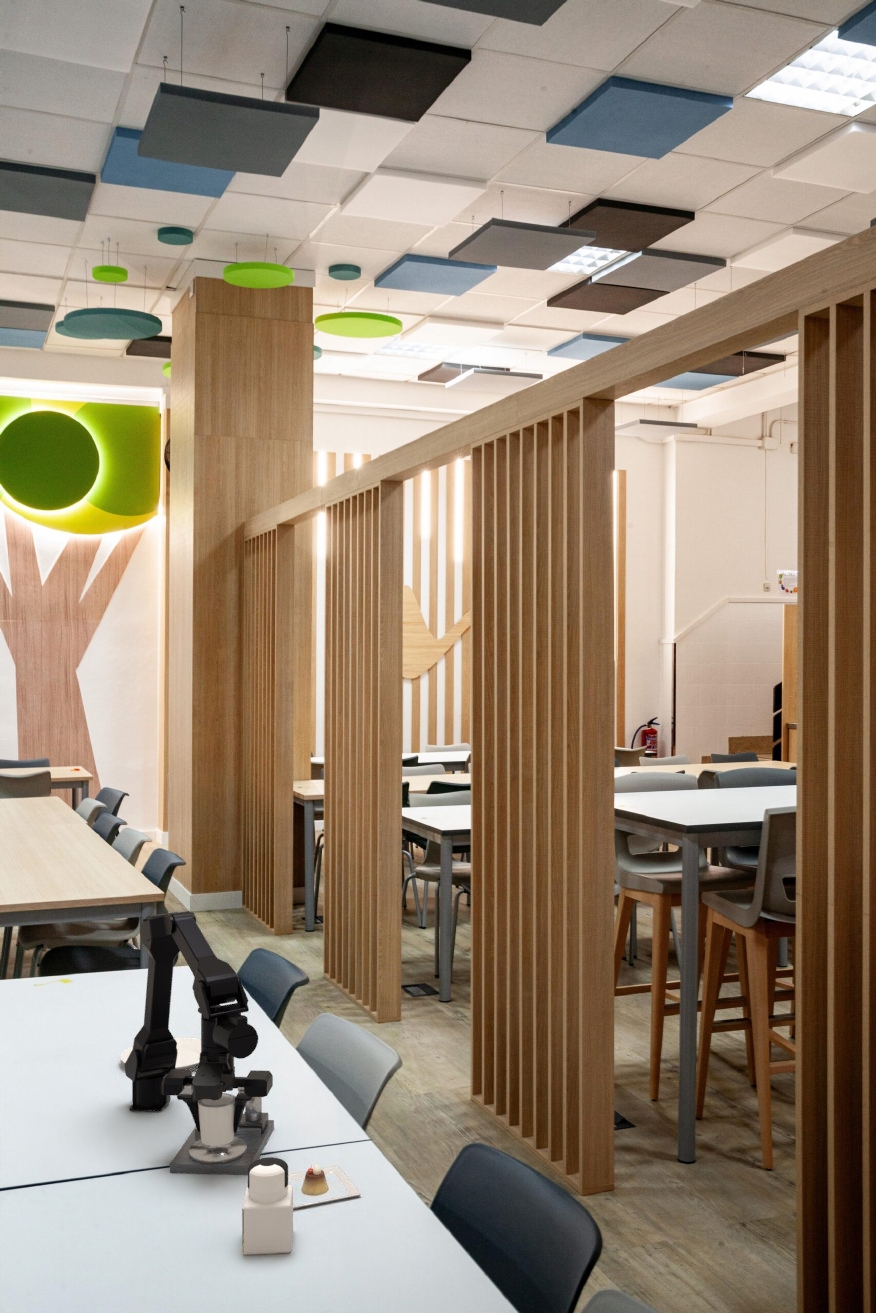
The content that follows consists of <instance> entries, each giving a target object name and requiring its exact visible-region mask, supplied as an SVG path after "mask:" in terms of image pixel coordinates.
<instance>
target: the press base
mask: <svg viewBox="0 0 876 1313" xmlns="http://www.w3.org/2000/svg"><path fill="white" fill-rule="evenodd" d="M242 1116H243V1115H242ZM274 1128H275V1120H274V1119H268V1123H267V1125H266V1126H265V1128H264V1130H263V1132H261V1128H239V1127H238V1130H237V1132H236V1133H234V1139H233V1141H231V1142H230V1143H228V1144H225V1145H219V1146H210V1145H205V1144H203V1143H202V1141H201V1132H198V1130H197V1128H196V1126H195V1127H194V1128H193V1130H192V1131H191V1132H190V1134H189V1136H187V1139H185V1141H184V1142H183V1144H182V1145H181V1147H180V1149H179V1150H178V1151H177V1153H176V1155H174V1157H173V1158H172V1160H171V1162H170V1163H169V1173H170V1174H194V1175H195V1174H203V1175H204V1174H205V1175H207V1174H208V1175H213V1174H214V1175H247V1176H248V1167H249V1166H250V1164H251V1163H252V1162H254V1161H256V1160H259V1159H260V1156H261V1155H262V1152H263V1151H262V1150H264V1148H265V1147H266V1145H267V1143H268V1141H269V1139H270V1137H271V1135H272V1133H273V1131H274ZM264 1146H265V1147H264Z"/></svg>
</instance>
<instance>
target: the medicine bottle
mask: <svg viewBox="0 0 876 1313" xmlns="http://www.w3.org/2000/svg"><path fill="white" fill-rule="evenodd" d="M288 1175H289V1165H288V1162H286V1161H285V1160H284V1159H281V1158H278V1157H272V1156H271V1157H268V1156H267V1157H263V1158H258V1160H256V1161H254V1162H252V1163H251V1164H250V1166H249V1167H248V1175H247V1186H246V1188H245V1193H244V1198H243V1203H242V1209H241V1210H242V1214H241V1216H242V1217H241V1218H242V1219H241V1220H242V1222H241V1223H242V1225H241V1226H242V1227H241V1228H242V1231H241V1232H242V1237H241V1238H242V1240H241V1241H242V1242H241V1243H242V1244H241V1245H242V1249H241V1250H242V1255H243V1256H255V1255H273V1254H274V1255H275V1254H289V1253H291V1252H292V1246H293V1245H292V1244H293V1235H294V1234H293V1233H294V1209H293V1203H294V1186H293V1184H289V1182H288Z"/></svg>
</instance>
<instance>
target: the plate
mask: <svg viewBox="0 0 876 1313" xmlns="http://www.w3.org/2000/svg"><path fill="white" fill-rule="evenodd" d="M174 1039H175V1040H176V1042H177V1047H176V1048H177V1052H178V1053H177V1060H176V1066H175V1069H191V1068H193V1067H195V1066H197V1065H199V1058H200V1053H201V1038H194V1037H193V1038H192V1037H174ZM132 1050H133V1045H132V1046H129V1047H128V1048H126V1049H125V1050H123V1051H122V1052H121V1054H120V1061H121V1062H123V1063H124V1064H125V1063H126V1061H127V1059H128V1057H129V1055H130V1053H131V1051H132Z"/></svg>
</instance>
